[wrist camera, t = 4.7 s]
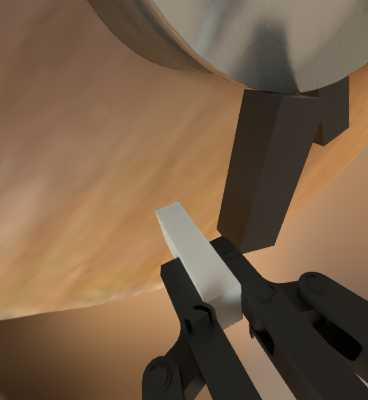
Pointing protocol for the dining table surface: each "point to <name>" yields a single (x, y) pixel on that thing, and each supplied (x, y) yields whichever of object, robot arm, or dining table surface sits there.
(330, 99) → the pressure cooker
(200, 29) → the cooker lid
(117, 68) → the dining table surface
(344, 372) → the robot arm
